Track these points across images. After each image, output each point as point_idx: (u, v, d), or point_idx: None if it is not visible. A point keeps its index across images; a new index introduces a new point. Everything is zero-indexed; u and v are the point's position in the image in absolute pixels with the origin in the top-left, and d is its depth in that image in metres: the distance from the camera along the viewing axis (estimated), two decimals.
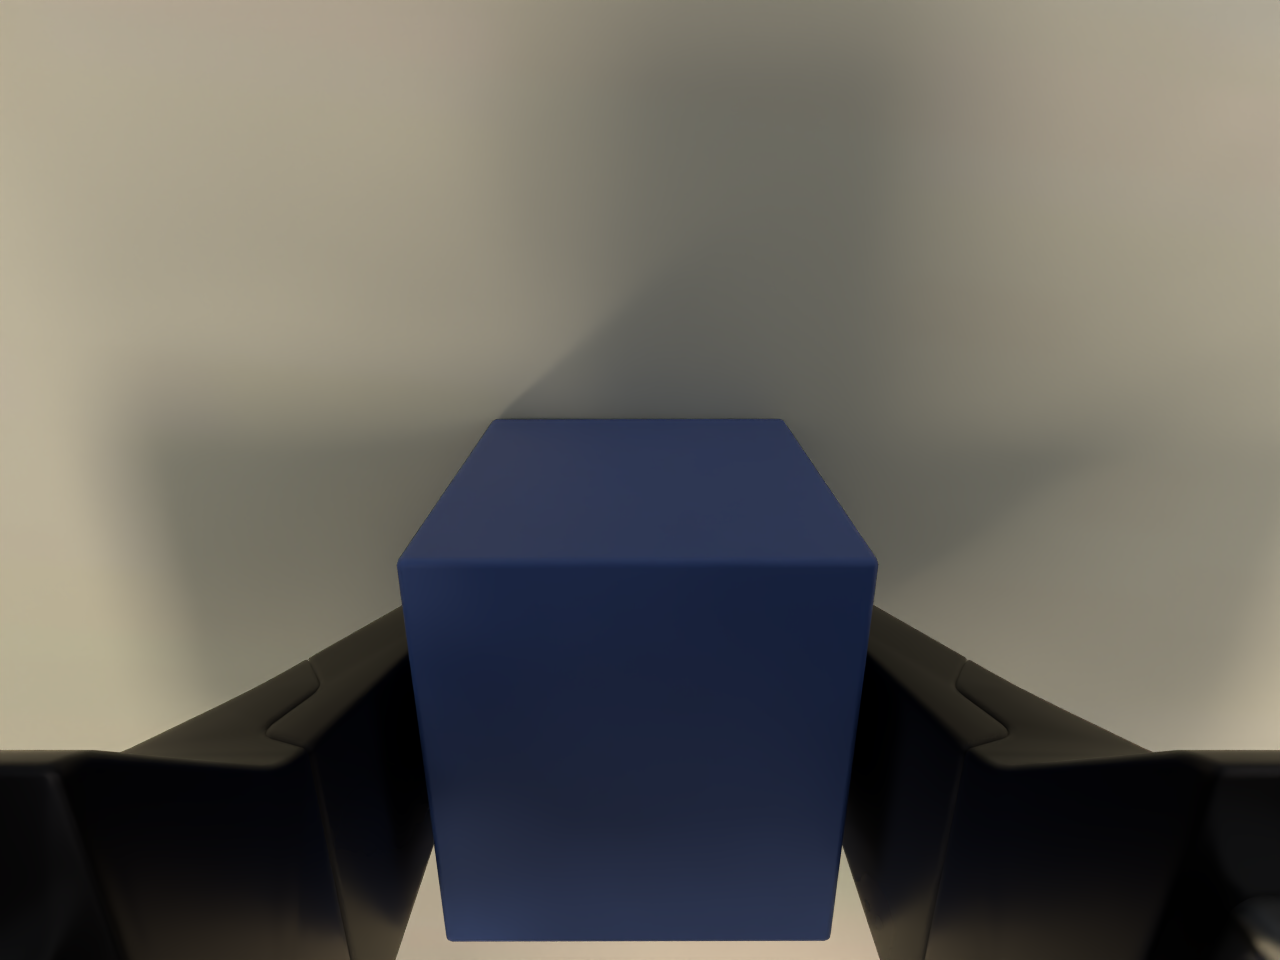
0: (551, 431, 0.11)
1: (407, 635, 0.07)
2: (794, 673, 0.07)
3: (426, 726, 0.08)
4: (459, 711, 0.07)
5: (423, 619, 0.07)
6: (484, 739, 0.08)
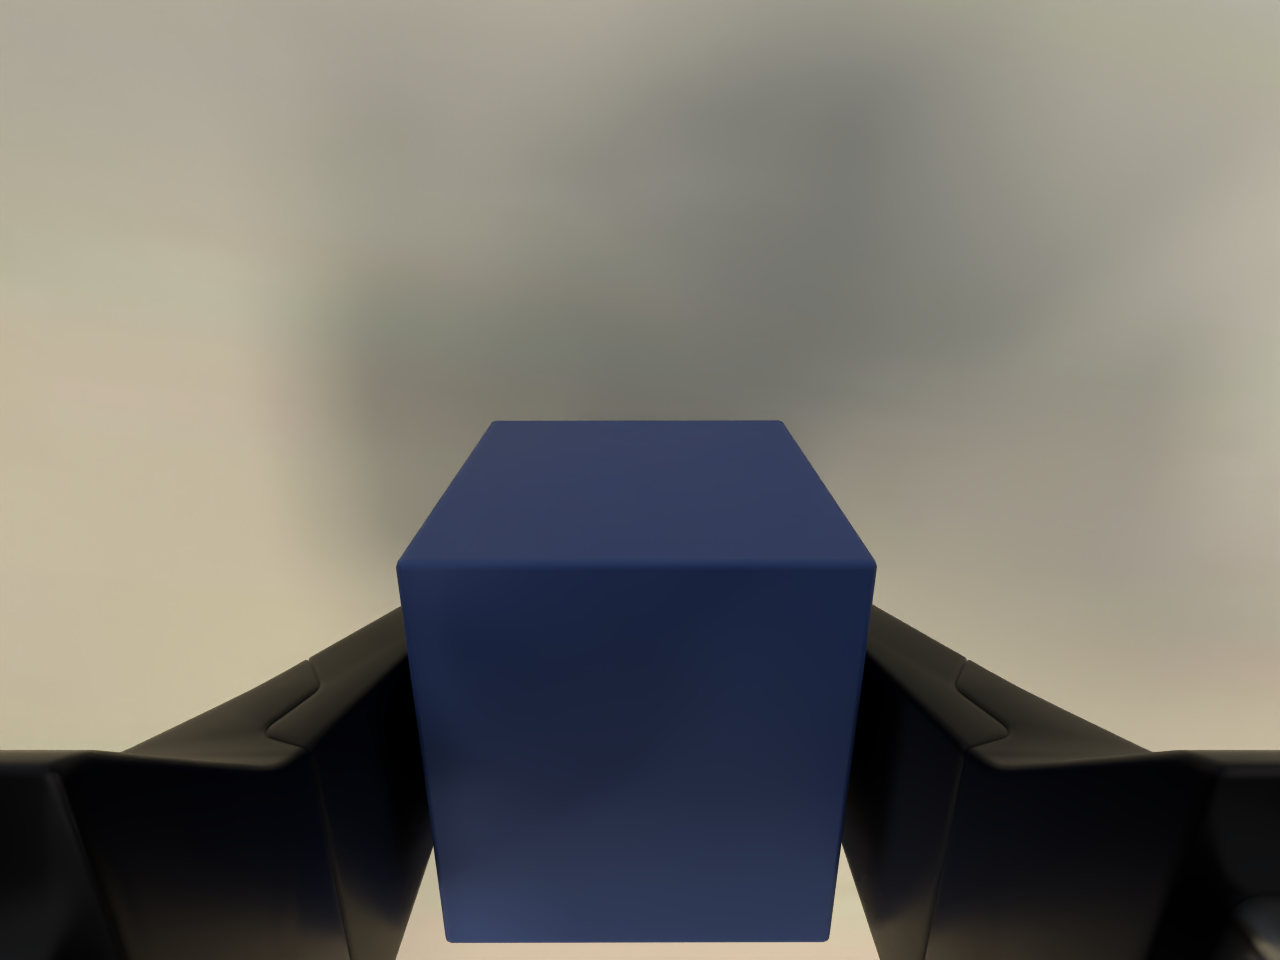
0: (550, 433, 0.11)
1: None
2: (793, 675, 0.07)
3: (425, 728, 0.08)
4: (458, 713, 0.08)
5: (422, 621, 0.07)
6: (482, 740, 0.08)
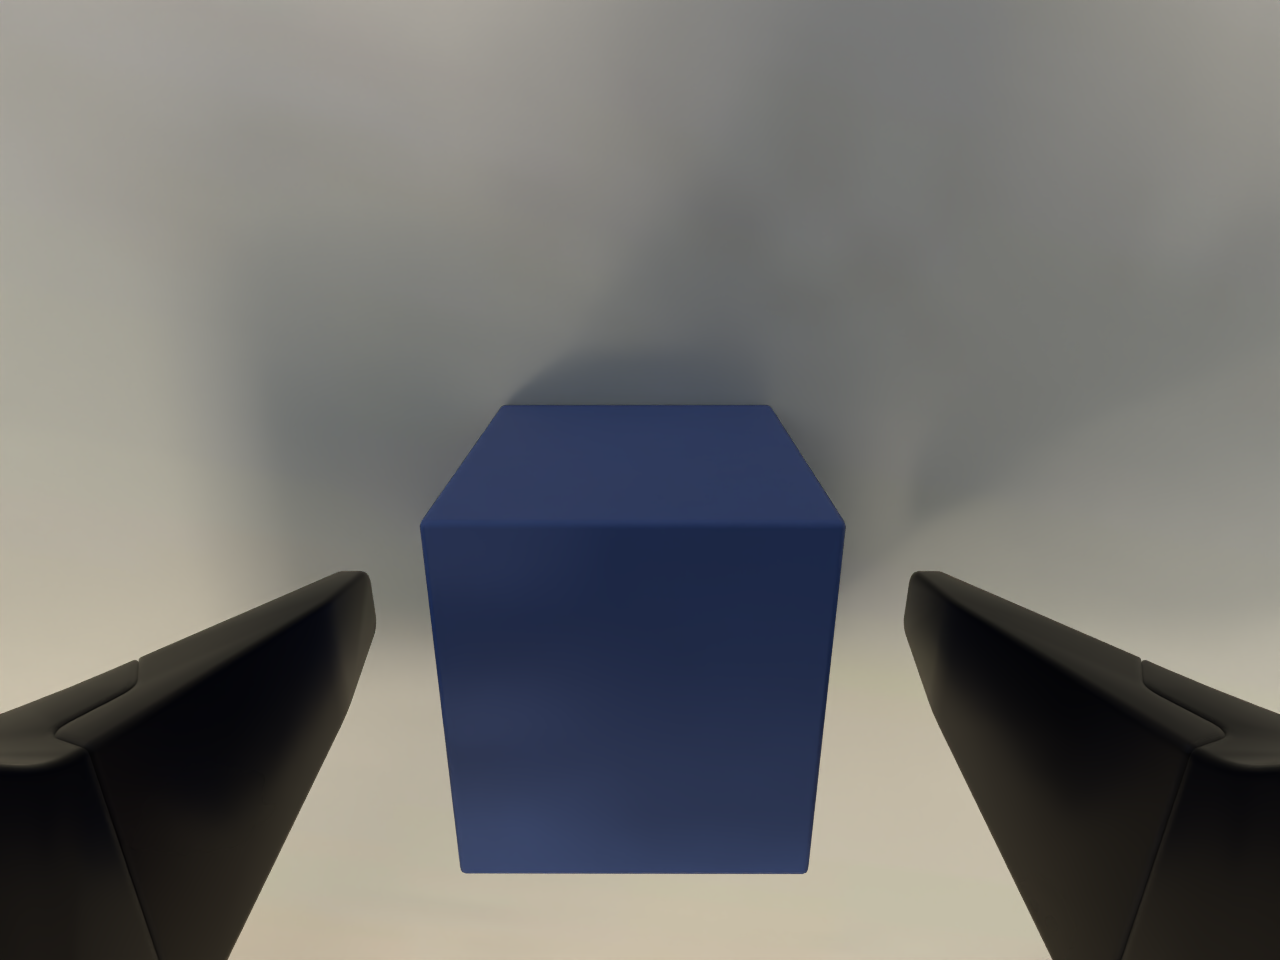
0: (555, 415, 0.12)
1: (427, 590, 0.08)
2: (772, 624, 0.08)
3: (444, 672, 0.09)
4: (474, 658, 0.08)
5: (443, 575, 0.08)
6: (496, 683, 0.09)
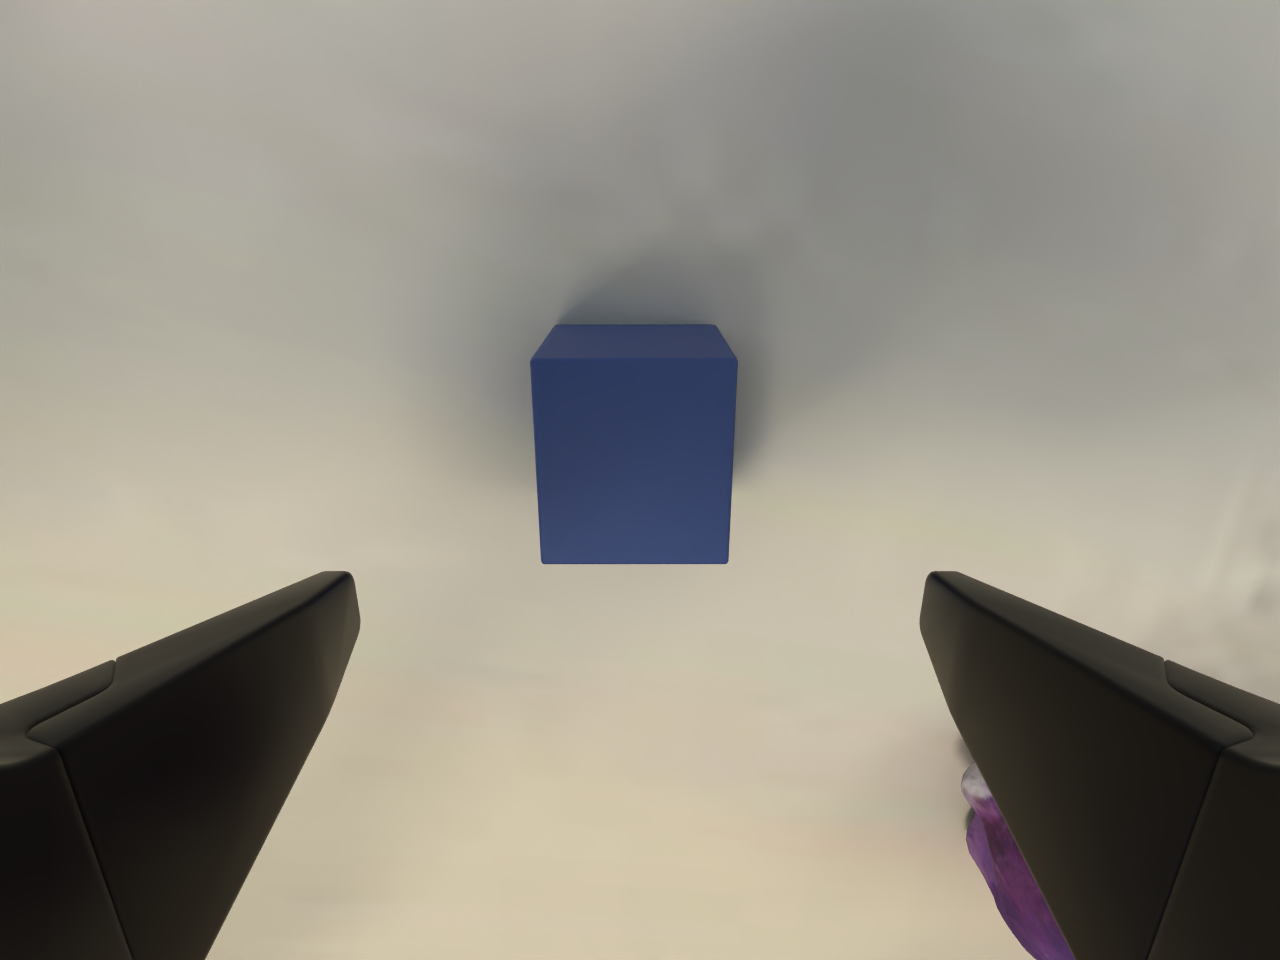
0: (588, 328, 0.20)
1: (532, 397, 0.17)
2: (703, 414, 0.17)
3: (538, 441, 0.17)
4: (554, 433, 0.17)
5: (540, 387, 0.16)
6: (564, 447, 0.17)
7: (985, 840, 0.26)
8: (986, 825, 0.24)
